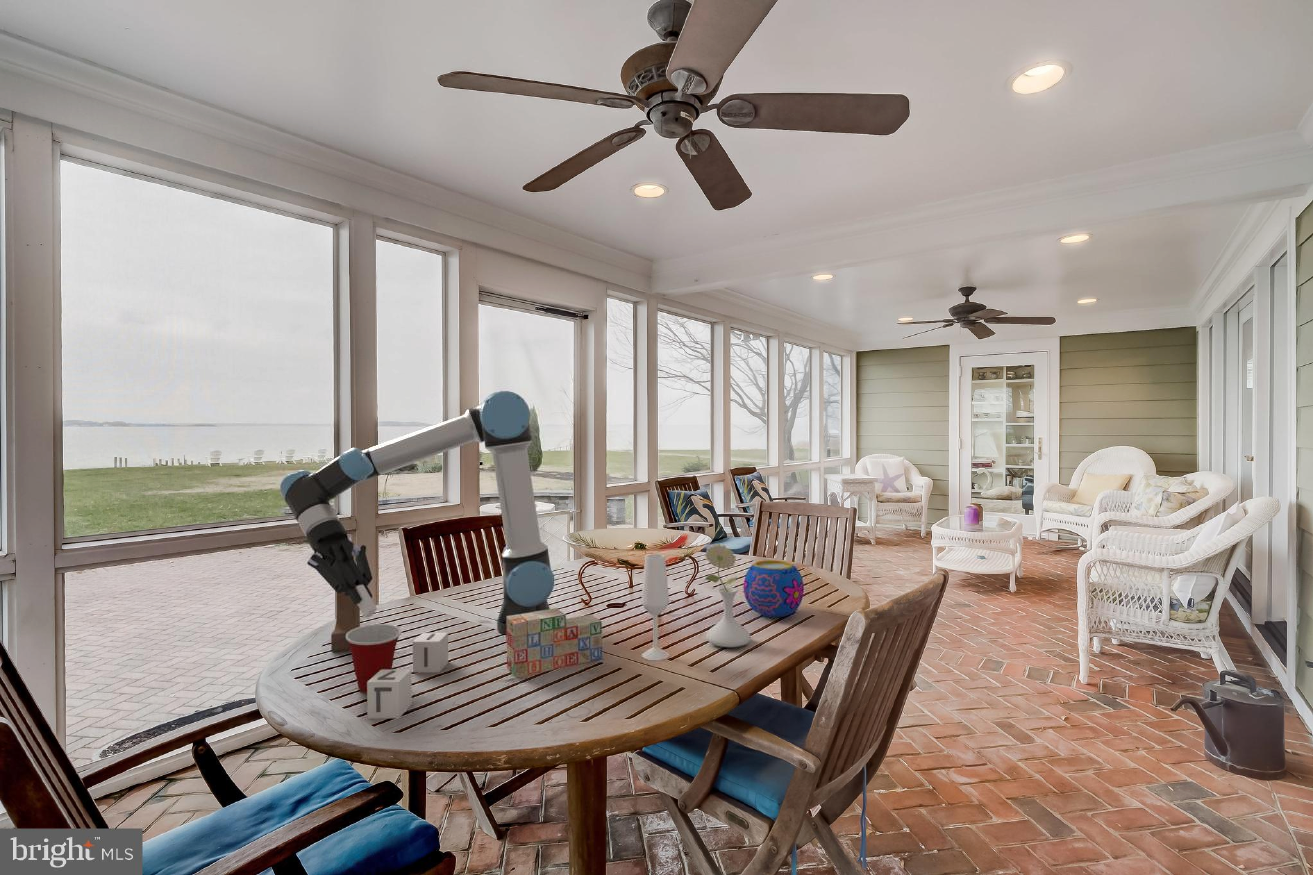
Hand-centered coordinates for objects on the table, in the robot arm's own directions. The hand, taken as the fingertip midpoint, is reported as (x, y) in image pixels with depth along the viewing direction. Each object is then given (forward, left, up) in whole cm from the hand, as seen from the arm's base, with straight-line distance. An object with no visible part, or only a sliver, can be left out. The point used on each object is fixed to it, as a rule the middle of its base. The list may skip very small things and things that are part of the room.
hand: (370, 613), depth 129 cm
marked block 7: (-9, +11, -16) cm, 21 cm away
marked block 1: (-9, -11, -16) cm, 21 cm away
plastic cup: (-1, 0, -16) cm, 16 cm away
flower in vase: (-79, -25, -16) cm, 84 cm away
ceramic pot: (-96, -48, -16) cm, 108 cm away
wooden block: (+18, -26, -16) cm, 35 cm away
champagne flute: (-61, -17, -16) cm, 65 cm away
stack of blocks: (-37, -12, -16) cm, 42 cm away
